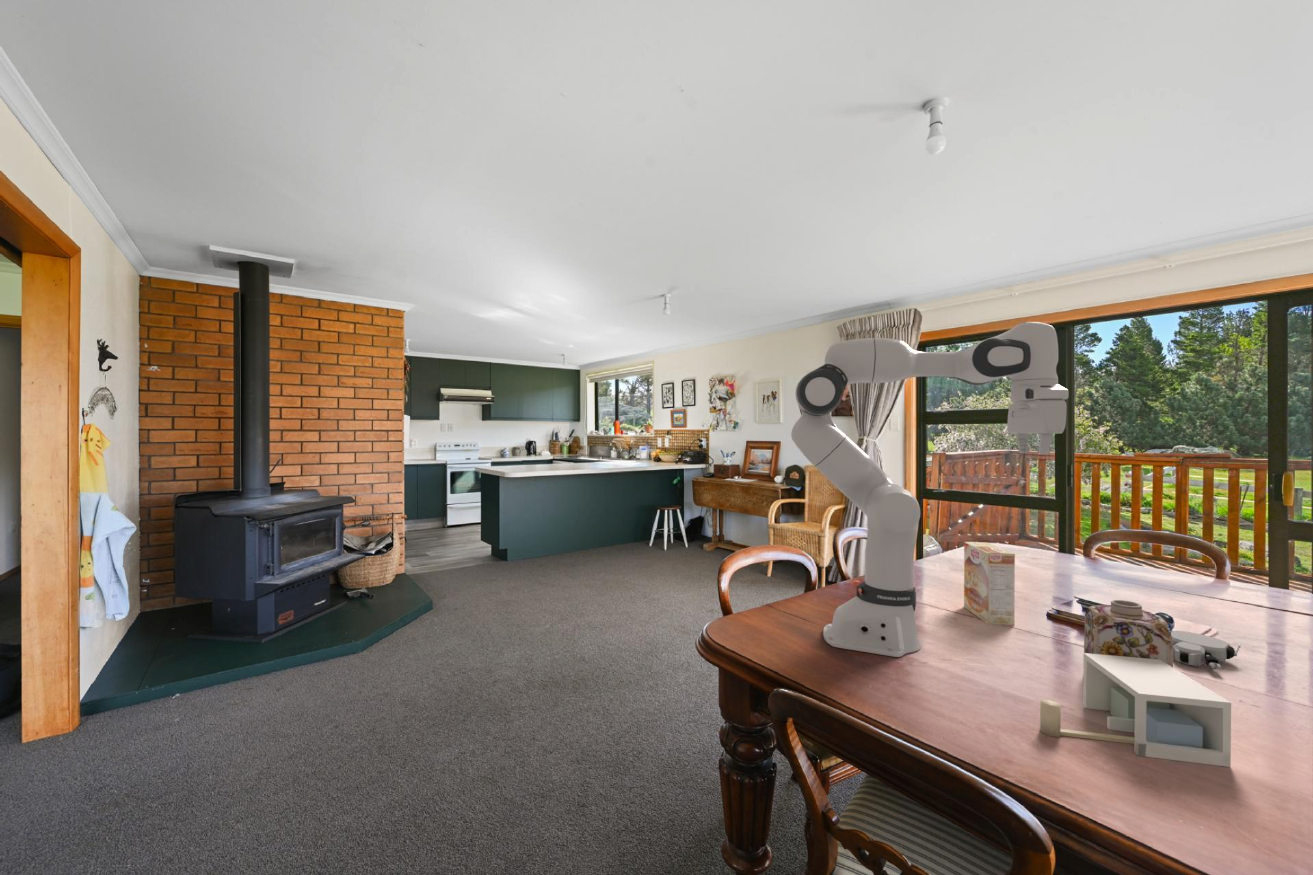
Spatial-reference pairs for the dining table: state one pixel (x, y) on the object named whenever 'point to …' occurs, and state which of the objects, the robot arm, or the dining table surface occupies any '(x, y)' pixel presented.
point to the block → (1129, 703)
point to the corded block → (1159, 729)
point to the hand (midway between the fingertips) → (1033, 453)
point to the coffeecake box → (989, 582)
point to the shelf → (1160, 686)
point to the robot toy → (1200, 649)
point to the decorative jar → (1127, 632)
